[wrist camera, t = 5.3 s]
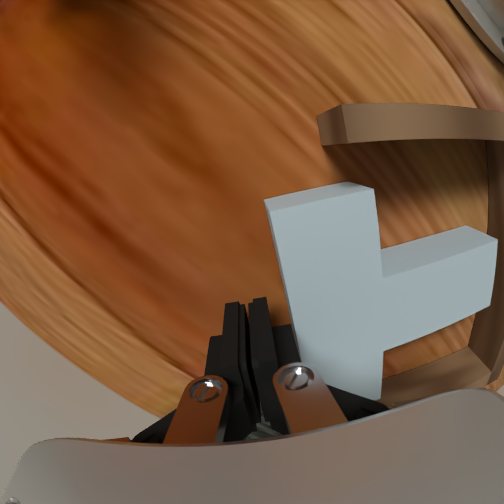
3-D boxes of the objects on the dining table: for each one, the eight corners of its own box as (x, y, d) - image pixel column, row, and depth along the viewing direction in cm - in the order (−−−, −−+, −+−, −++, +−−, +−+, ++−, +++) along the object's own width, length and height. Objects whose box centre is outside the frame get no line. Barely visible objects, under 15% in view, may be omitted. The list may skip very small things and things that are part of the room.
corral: (339, 404, 15) (352, 441, 12) (316, 116, 10) (341, 104, 7) (475, 353, 15) (497, 378, 12) (495, 118, 10) (534, 118, 7)
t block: (304, 384, 14) (312, 418, 12) (263, 199, 11) (269, 211, 9) (457, 331, 14) (478, 353, 12) (462, 162, 11) (496, 167, 8)
